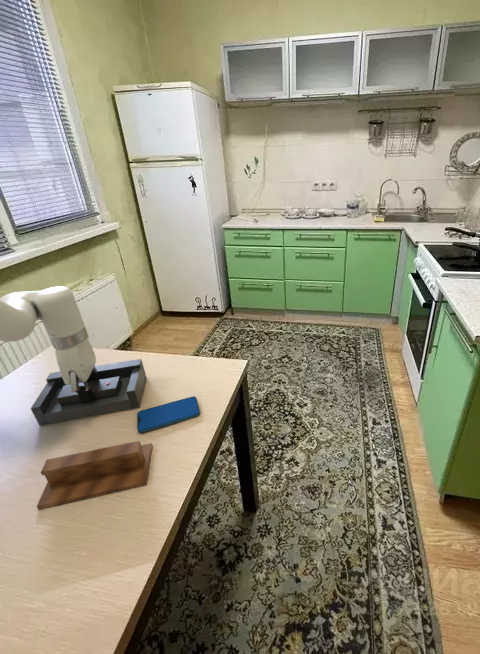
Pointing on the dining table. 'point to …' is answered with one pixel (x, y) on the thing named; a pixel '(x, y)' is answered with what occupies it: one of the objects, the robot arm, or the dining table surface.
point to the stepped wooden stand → (95, 473)
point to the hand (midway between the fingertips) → (91, 393)
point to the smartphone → (167, 414)
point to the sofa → (127, 399)
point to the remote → (98, 387)
